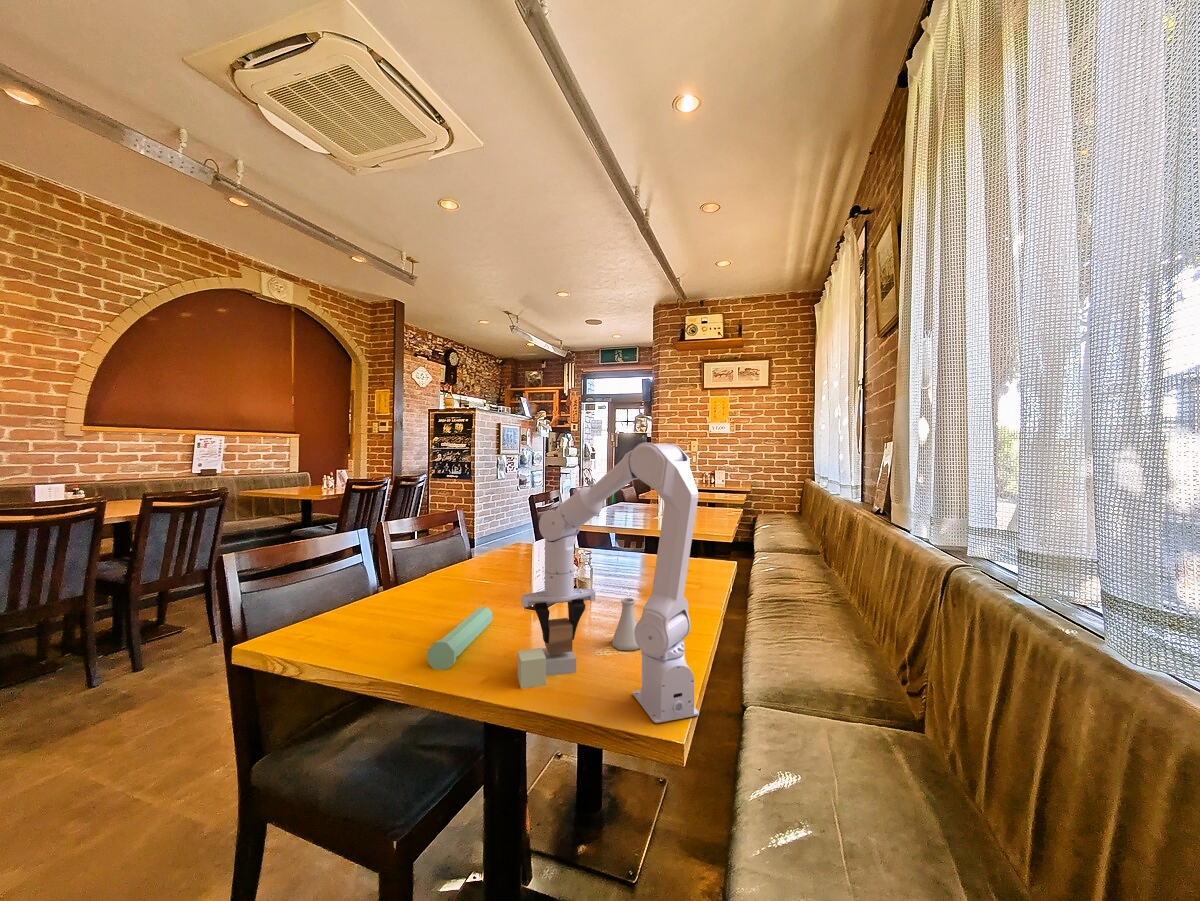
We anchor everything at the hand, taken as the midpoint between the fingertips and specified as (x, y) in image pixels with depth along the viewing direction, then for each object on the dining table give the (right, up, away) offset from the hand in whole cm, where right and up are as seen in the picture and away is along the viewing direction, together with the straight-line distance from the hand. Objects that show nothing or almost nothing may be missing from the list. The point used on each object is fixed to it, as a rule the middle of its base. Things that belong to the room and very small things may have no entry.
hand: (558, 639), depth 92 cm
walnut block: (0, -2, 0) cm, 2 cm away
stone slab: (0, -6, 0) cm, 6 cm away
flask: (+14, -6, +11) cm, 19 cm away
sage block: (-4, -5, -6) cm, 9 cm away
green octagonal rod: (-21, -6, +11) cm, 25 cm away
